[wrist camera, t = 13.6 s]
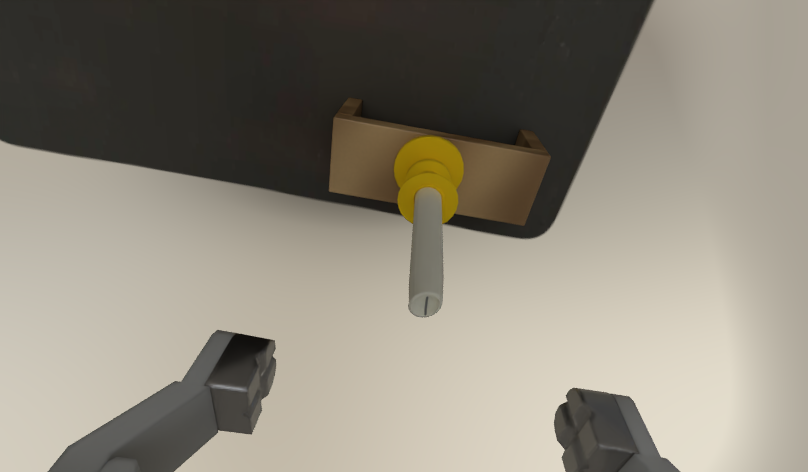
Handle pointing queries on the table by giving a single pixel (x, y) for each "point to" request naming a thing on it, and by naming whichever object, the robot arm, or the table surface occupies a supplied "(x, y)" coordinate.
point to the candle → (427, 212)
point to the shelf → (483, 160)
